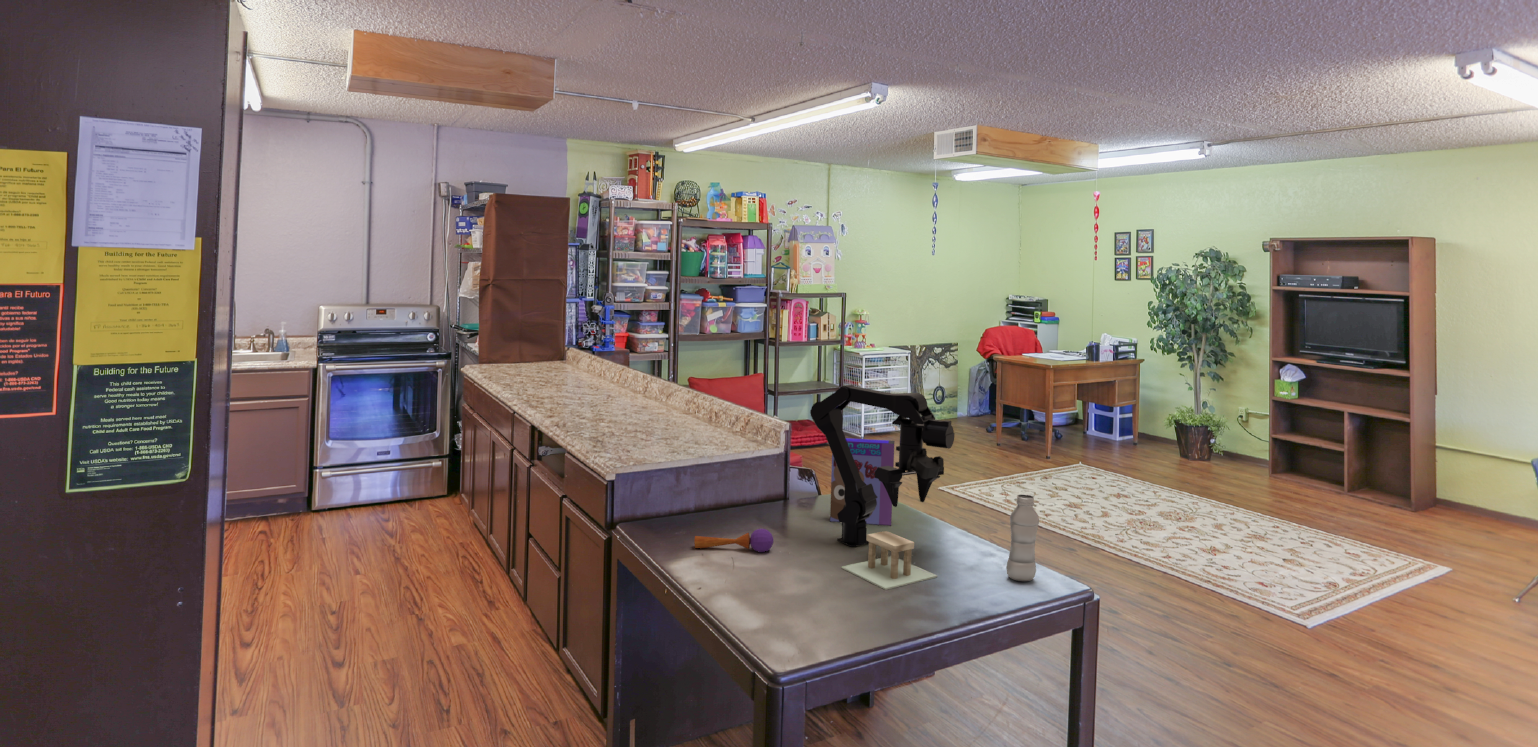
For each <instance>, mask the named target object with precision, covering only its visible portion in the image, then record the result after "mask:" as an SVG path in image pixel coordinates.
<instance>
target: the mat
mask: <svg viewBox="0 0 1538 747" xmlns="http://www.w3.org/2000/svg"><path fill="white" fill-rule="evenodd" d="M903 567H904V559H900V558H899V559H898V578H897V579H892V578H890V574H891V555H888V565H885V566H883V565H881V557H880V558H875V568H872V569H871V568H869V567H868V560H866V561H861V562H857V563H851V564H847V565H843V566H841V569H842V570H844V571H846V572H848V573H850V574H853V575H855V576H856V577H857V578H861V579H862V580H865V581H867V582H869V583H870V584H872V585H875V586H877V587H878V588H881V589H883V590H886V591H887V590H891V589H895V588H898V587H899V588H900V587H903V586H907V585H912V584H916V583H920V582H922V581H923V582H924V581H928V580H932V579H936V578H938V575H937V574H935V573H932V572H930V571H928V570H925V569H923V568H921V567H919V566H916V565H914V564H913V563H911V575H909V576H906V575H903Z"/></svg>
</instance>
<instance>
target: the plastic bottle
mask: <svg viewBox="0 0 1538 747" xmlns="http://www.w3.org/2000/svg"><path fill="white" fill-rule="evenodd" d="M1034 499H1035V497H1034V496H1033V495H1031V494H1024V493H1023V494H1022V493H1021V494H1017V496H1016V501H1015V503H1016V505H1017V506H1016V507H1015V508H1014V509H1013V511H1011V513H1010V515H1009V525H1010V547H1009V554H1008V559H1007V561H1006V568H1005V570H1006V575H1007V576H1008V577H1009V579H1011V580H1013V581H1017V582H1030V581H1032V580H1034V578H1035V577H1036V572H1037V565H1036V540H1037V533H1038V529H1039V524H1040V518H1039V514H1038V513H1037V511H1036V510H1035V508H1034V505H1035V500H1034Z"/></svg>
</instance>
